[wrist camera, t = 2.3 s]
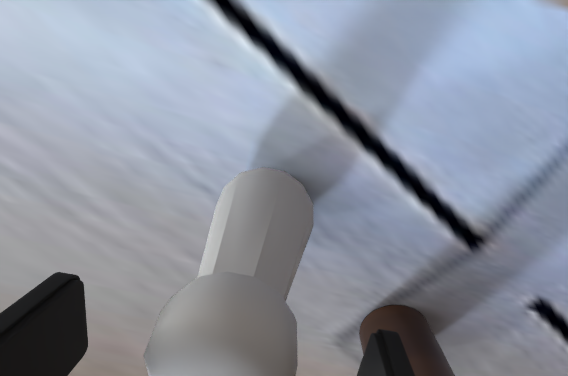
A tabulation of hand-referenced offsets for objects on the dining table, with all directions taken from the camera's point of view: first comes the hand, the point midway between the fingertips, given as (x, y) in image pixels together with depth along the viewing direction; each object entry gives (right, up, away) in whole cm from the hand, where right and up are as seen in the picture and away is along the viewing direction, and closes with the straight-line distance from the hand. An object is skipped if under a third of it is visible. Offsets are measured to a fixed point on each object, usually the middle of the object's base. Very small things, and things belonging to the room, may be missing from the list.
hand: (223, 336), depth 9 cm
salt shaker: (+1, +4, +10) cm, 11 cm away
